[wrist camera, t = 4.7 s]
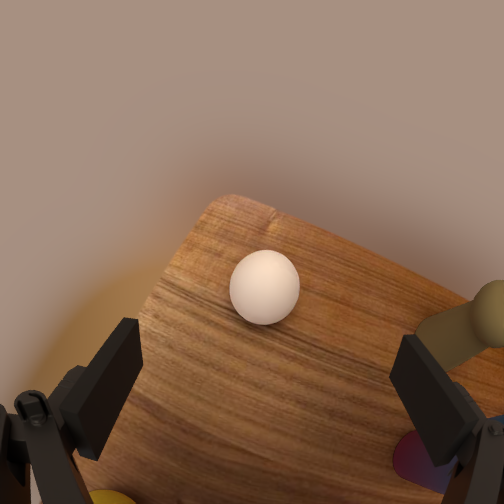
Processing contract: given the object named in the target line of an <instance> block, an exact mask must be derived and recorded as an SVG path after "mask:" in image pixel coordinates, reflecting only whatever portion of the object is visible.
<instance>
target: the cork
mask: <svg viewBox="0 0 504 504" xmlns="http://www.w3.org/2000/svg"><path fill="white" fill-rule="evenodd" d="M415 334H416V335H417V337H418V338H419V339H420V340H421V342H422V343H423V344H424V345H425V347H426V348H427V349H428V350H429V352H430V353H431V354H432V355H433V357H434V358H435V359H436V361H437V362H438V363H439V364H440V366H441V367H442V368H443V370H444V371H445V372H448V371H449V370H451V369H453V368H455V367H457V366H458V365H460V364H462V363H464V362H465V361H467V360H469V359H470V358H472V357H474V356H475V355H477V354H479V353H480V352H482V351H483V350H485V349H487V348H488V347H492V348H501V347H504V280H495V281H492V282H490V283H488V284H486V285H485V286H483V287H482V288H481V289H480V291H479V292H478V293H477V295H476V296H475V297H474V300H472V301H470V302H467V303H465V304H462V305H460V306H457V307H455V308H452V309H449V310H447V311H444V312H441V313H439V314H436V315H433V316H430V317H428V318H426V319H424V320H423V321H422V322H421V323H420V324H419V326H418V328H417V330H416V332H415Z"/></svg>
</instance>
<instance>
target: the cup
mask: <svg viewBox="0 0 504 504" xmlns="http://www.w3.org/2000/svg"><path fill="white" fill-rule="evenodd" d="M487 419H488V420H497V421H499V422H501V423H502V424H503V425H504V415H500V416H496V417H492V418H487ZM457 461H458V458H457V456H456V455H455V456H454V457H453V459H452V460H451V461H450V463H449V464H446V465H443V466H439V467H434V465H433V463H432V461H431V459H430V456H429V454H428V452H427V450H426V448H425V446H424V444H423V442H422V440H421V438H420V436H419V434H418V432H417V430H414V431H412V432H410V433H408V434H407V435H406V436H404V437H403V438H402V440H401V441H400V442H399V444H398V445H397V447H396V449H395V452H394V456H393V466H394V469H395V471H396V473H397V474H398V475H399V476H400V477H402V478H404V479H406V480H409V481H411V482H413V483H416V484H418V485H421V486H423V487H425V488H428V489H431V490H433V491H436V492H438V493H441V494H444V495H445V492H446V489H447V487H448V484H449V481H450V478H451V475H452V473H451V474H450V475H449V476H447V474H448V473H449V471H450V470H451V469H452V468H453V466H454V465H455V464H456V462H457Z"/></svg>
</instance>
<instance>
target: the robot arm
mask: <svg viewBox="0 0 504 504" xmlns="http://www.w3.org/2000/svg"><path fill="white" fill-rule="evenodd" d="M142 367H143V358H142V350H141V342H140V333H139V323H138V319H131V318H125V317H124V318H123V319H122V320H121V322H120V323H119V324H118V326H117V327H116V328H115V330H114V331H113V332H112V333H111V335H110V336H109V337H108V339H107V340H106V341H105V343H104V344H103V346H102V347H101V348H100V350H99V351H98V352H97V354H96V355H95V356H94V358H93V359H92V361H91V362H90V363H89V365H88V366H87V367H83V366H79V365H77V366H76V367H74V368H73V369H71V370H69V371H68V372H67V374H66V375H65V376H64V378H63V380H61V382H60V383H59V384H58V386H57V387H56V388H55V390H54V391H53V392H52V394H51V395H50V396H49V398H48V399H46V397H45V395H44V394H43V393H41V392H39V391H36V390H28V391H25V392H22V393H21V394H20V395H18V397H17V398H16V399H15V402H14V407H15V408H16V411H17V413H18V415H16V414H8V413H7V412H6V410H5V408H4V406H3V405H1V404H0V504H31V490H30V464H31V465H32V469H33V473H34V477H35V480H36V483H37V487H38V490H39V493H40V496H41V499H42V502H43V504H94V502H93V500H92V498H91V496H90V494H89V492H88V490H87V488H86V485H85V483H84V481H83V479H82V476H81V474H80V472H79V469H78V467H77V464H76V462H75V459H74V457H73V455H72V454H73V452H74V450H75V448H76V449H77V451H78V453H79V455H80V456H82V457H85V458H88V459H91V460H94V461H98V459H99V457H100V455H101V452H102V450H103V448H104V446H105V444H106V441H107V439H108V437H109V435H110V433H111V431H112V428H113V426H114V424H115V422H116V420H117V418H118V416H119V414H120V412H121V409H122V407H123V405H124V403H125V401H126V399H127V397H128V395H129V393H130V391H131V389H132V387H133V385H134V383H135V381H136V379H137V377H138V375H139V373H140V371H141V369H142ZM389 378H390V380H391V382H392V384H393V386H394V387H395V389H396V391H397V393H398V395H399V397H400V399H401V401H402V403H403V405H404V406H405V408H406V410H407V412H408V414H409V416H410V418H411V420H412V422H413V424H414V426H415V428H416V430H417V432H418V434H419V436H420V438H421V440H422V442H423V444H424V446H425V448H426V450H427V452H428V454H429V456H430V459H431V461H432V463H433V465H434V467H439V466H443V465H446V464H449V463H450V461H451V460H452V459H453V457H454V456H455V455H456V456H457V458H458V461H457V462H456V464H455V465H454V466H453V468H452V469H451V470H450V471H449V473H448V474H447V476H449V475H450V474H451V473H452V475H451V478H450V481H449V484H448V487H447V489H446V492H445V495H444V497H443V500H442V503H441V504H504V425H503V424H502V423H501V422H499V421H497V420H488V419H487V418H486V416H485V415H484V413H483V412H482V411H481V409H480V408H479V407H478V405H477V404H476V402H475V401H474V400H473V398H472V397H471V396H469V395H470V394H469V393H468V392H467V390H466V389H465V388H464V387H463V386H462V385H460V384H459V383H457V382H452V380H451V379H450V378H449V376H448V375H447V374H446V372H445V371H444V370H443V368H442V367H441V366H440V364H439V363H438V362H437V361H436V359H435V358H434V357H433V355H432V354H431V353H430V352H429V350H428V349H427V348H426V347H425V345H424V344H423V343H422V342H421V340H420V339H419V338H418V337H417V335H416V334H415V335H403V338H402V341H401V345H400V348H399V351H398V353H397V356H396V359H395V362H394V365H393V368H392V370H391V373H390V376H389Z"/></svg>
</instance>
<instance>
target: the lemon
mask: <svg viewBox="0 0 504 504" xmlns="http://www.w3.org/2000/svg"><path fill="white" fill-rule="evenodd" d="M89 494H90V496H91V498H92V500H93V502H94V504H136V503H135V502H134V501H133V500H132V499H130V498H129V497H127V496H126V495H124V494H122V493H119V492H116V491H112V490H94V491H91V492H89Z"/></svg>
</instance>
